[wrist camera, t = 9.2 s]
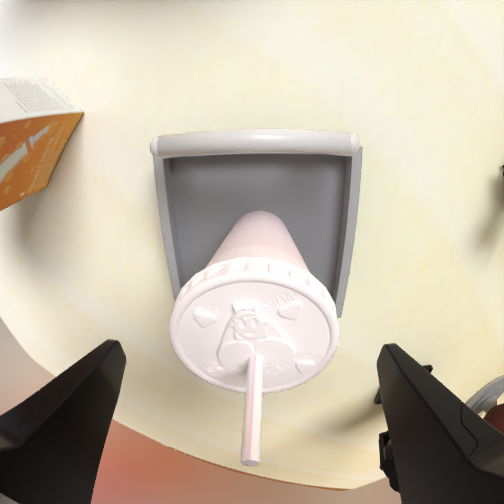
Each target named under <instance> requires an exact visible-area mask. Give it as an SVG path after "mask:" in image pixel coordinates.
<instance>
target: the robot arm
mask: <svg viewBox="0 0 504 504" xmlns="http://www.w3.org/2000/svg"><path fill="white" fill-rule="evenodd" d="M125 365H126V356H125V353H124V351H123V349H122V347H121V344H120V342H119V341H117V340H111V339H108V340H106V341H105V342H103V343H102V344H101V345H99V346H98V347H97V348H95V349H94V350H92V351H91V352H90V353H88V354H87V355H86V356H84V357H83V358H81V359H80V360H79V361H77V362H76V363H75V364H73V365H72V366H71V367H69V368H68V369H67V370H65V371H64V372H62V373H61V374H60V375H58V376H57V377H56V378H54V379H53V380H52V381H51V382H49V383H48V384H46V385H45V386H44V387H42V388H41V389H40V391H37V392H36V393H34V394H33V395H31V396H30V397H29V398H27V399H26V400H25V401H23V402H22V403H20V404H18V405H17V406H15V407H14V408H12V409H11V410H9V411H7V412H6V413H4V414H2V415H1V416H0V504H91V499H92V494H93V488H94V484H95V480H96V476H97V472H98V467H99V464H100V459H101V455H102V452H103V448H104V444H105V441H106V437H107V434H108V430H109V427H110V423H111V420H112V417H113V414H114V410H115V407H116V404H117V401H118V397H119V393H120V388H121V383H122V378H123V374H124V369H125ZM432 370H433V367H432V365H428V366H423V367H422V366H421V365H420V364H419V363H418V362H417V361H415V360H414V359H413V358H412V357H411V356H410V355H408V354H407V353H406V352H405V351H404V350H403V349H401V348H400V347H399V346H398V345H397V344H395V343H391V344H385V345H383V347H382V349H381V352H380V355H379V357H378V360H377V371H378V377H379V384H380V391H379V393H378V395H377V397H376V399H375V404H382V405H383V410H384V414H385V418H386V422H387V427H388V431H386V432H383V433H380V434H379V450H380V469H381V470H382V471H384V473H385V475H386V476H387V477H388V478H389V482H390V486H391V488H392V489H393V490H395V491H397V492H399V493H400V495H401V501H402V504H504V434H503V433H501V432H500V431H499V430H497V429H496V428H494V427H493V426H492V425H490V424H489V423H488V422H486V421H485V420H484V419H482V418H481V417H480V416H478V415H477V414H476V413H475V412H474V411H473V410H471V409H470V408H469V407H468V406H467V405H466V404H465V403H463V402H462V401H461V400H460V399H459V398H458V397H457V396H456V395H454V394H453V393H452V392H451V391H450V390H449V389H448V388H446V387H445V386H444V385H443V384H442V383H441V382H440V381H438V380H437V379H436V378H435V377H434V376H433V375H432V374H430V373H431V371H432Z"/></svg>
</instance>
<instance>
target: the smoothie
mask: <svg viewBox="0 0 504 504" xmlns="http://www.w3.org/2000/svg"><path fill="white" fill-rule="evenodd" d="M169 333H170V339H171V343H172V346H173V348H174V350H175V352H176V354H177V356H178V357H179V359H180V360H181V361H182V362H183V363H184V365H185V366H186V367H187V368H188V369H189V370H191V371H192V372H193V373H194V374H196V375H197V376H198V377H200V378H201V379H203V380H205V381H207V382H209V383H211V384H213V385H215V386H218V387H221V388H223V389H227V390H231V391H235V392H241V393H246V396H245V408H244V421H243V433H242V445H241V458H240V463H241V464H243V465H246V466H256V465H259V464H260V450H261V422H262V394H265V393H273V392H280V391H283V390H287V389H291V388H294V387H296V386H298V385H301V384H303V383H305V382H307V381H308V380H310V379H312V378H313V377H315V376H316V375H317V374H319V373H320V372H321V371H322V370H323V369H324V368H325V367H326V366H327V365H328V364H329V362H330V361H331V359H332V358H333V356H334V354H335V352H336V350H337V347H338V343H339V337H340V329H339V323H338V320H337V314H336V307H335V303H334V301H333V299H332V298H331V296H330V294H329V292H328V290H327V289H326V287H325V286H324V285H323V284H322V283H320V282H319V281H318V280H317V279H316V278H315V277H314V276H313V275H312V274H311V273H310V272H309V270H308V268H307V266H306V264H305V262H304V260H303V258H302V256H301V254H300V253H299V251H298V249H297V247H296V245H295V243H294V241H293V239H292V237H291V236H290V234H289V232H288V230H287V228H286V226H285V224H284V223H283V222H282V220H281V219H280V218H278V217H277V216H276V215H274V214H272V213H269V212H265V211H254V212H250V213H247V214H245V215H244V216H242V217H241V218H240V219H239V220H238V221H237V222H236V223H235V225H234V226H233V228H232V229H231V231H230V232H229V234H228V235H227V237H226V238H225V240H224V241H223V243H222V244H221V246H220V247H219V249H218V250H217V252H216V253H215V255H214V256H213V257H212V259H211V260H210V262H209V264H208V265H207V266H206V268H205V269H203V270H202V271H200V272H198V273H196V274H195V275H194V276H193V277H192V278H191V279H190V280H189V281H188V282H187V283H186V284H185V285H184V286H183V287H182V289H181V291H180V293H179V295H178V297H177V299H176V302H175V304H174V310H173V313H172V315H171V319H170V325H169Z"/></svg>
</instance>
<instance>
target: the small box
mask: <svg viewBox="0 0 504 504" xmlns="http://www.w3.org/2000/svg"><path fill="white" fill-rule="evenodd" d="M83 113H84V111H83V110H82V109H81V108H79V107H78V106H77V105H76V104H75V103H74V102H72V101H71V100H70V99H69V98H68V97H67V96H65V95H64V94H63V93H62V92H61V91H60V90H59V89H57V88H56V87H55V86H54V85H53V84H52V83H50V82H49V81H48V80H47V79H45V78H4V79H0V211H1V210H3V209H5V208H7V207H9V206H11V205H12V204H14V203H16V202H18V201H20V200H22V199H24V198H26V197H28V196H30V195H32V194H34V193H36V192H38V191H40V190H42V189H45V188H46V187H47V185H48V182H49V179H50V177H51V174H52V172H53V170H54V167H55V165H56V163H57V161H58V159H59V157H60V155H61V152H62V150H63V148H64V146H65V144H66V143H67V141H68V139H69V137H70V135H71V133H72V132H73V130H74V128H75V126H76V125H77V123H78V121H79V120H80V118H81V116H82V115H83Z"/></svg>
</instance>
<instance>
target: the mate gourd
mask: <svg viewBox="0 0 504 504" xmlns="http://www.w3.org/2000/svg"><path fill="white" fill-rule="evenodd" d="M503 392H504V375H502V376H500V377H498V378H496V379H494V380H493V381H491V382H490V383H488V384H487V385H485V386H484V387H483V388H482V389H480V390H479V391H478V392H477V393H476V394H474V395H473V396H472V397H471V398H470V399H469V400H468V401H467V402H466V405H467V406H468V407H469V408H470V409H471V410H473V411H474V412H475V413H476V414H477V413H479V412H481V411H484V412H486V413H487V414H486V415H485V417H484V418H483V419H484V420H485V421H486V422H488V423H489V424H490V425H492V426H493V427H494V428H496V429H497V430H499V431H500V432H501V433H503V434H504V403H503V404H500V405H497V399H498V398H499V397H500V396H501V395H502V394H503Z"/></svg>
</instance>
